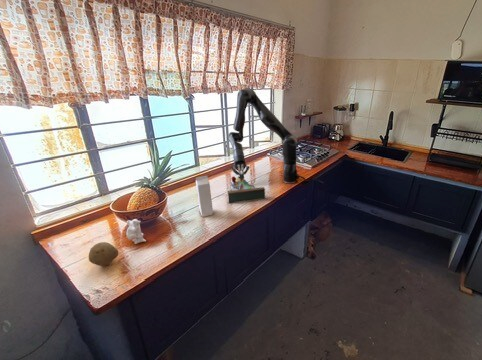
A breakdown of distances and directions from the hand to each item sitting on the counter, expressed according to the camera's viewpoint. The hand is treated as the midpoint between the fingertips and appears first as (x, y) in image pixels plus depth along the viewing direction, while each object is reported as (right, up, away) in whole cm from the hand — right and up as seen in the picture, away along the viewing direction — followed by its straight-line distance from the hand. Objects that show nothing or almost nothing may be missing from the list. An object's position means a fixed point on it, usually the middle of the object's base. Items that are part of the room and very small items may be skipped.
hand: (242, 179), depth 166 cm
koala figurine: (-38, -28, -53) cm, 71 cm away
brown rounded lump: (-42, -34, -67) cm, 87 cm away
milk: (-14, -19, -30) cm, 38 cm away
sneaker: (+2, -8, -5) cm, 10 cm away
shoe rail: (+6, -12, -15) cm, 20 cm away
